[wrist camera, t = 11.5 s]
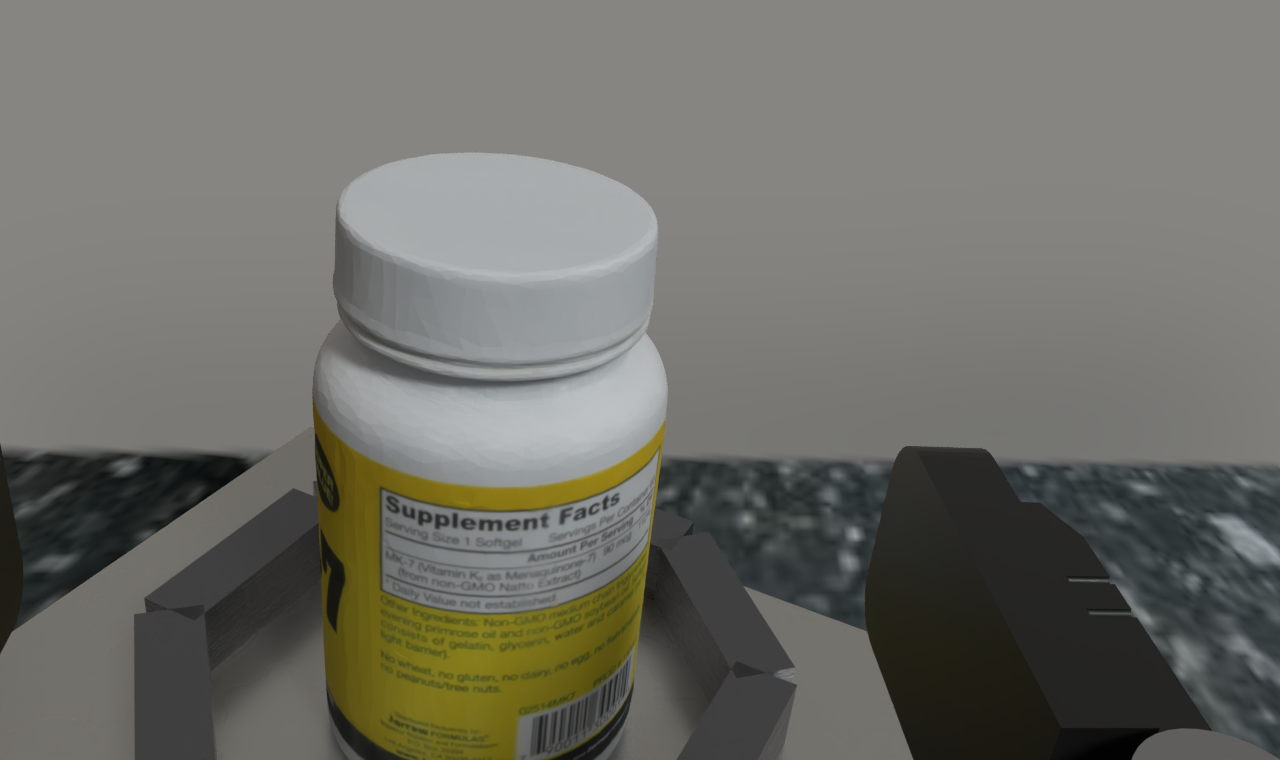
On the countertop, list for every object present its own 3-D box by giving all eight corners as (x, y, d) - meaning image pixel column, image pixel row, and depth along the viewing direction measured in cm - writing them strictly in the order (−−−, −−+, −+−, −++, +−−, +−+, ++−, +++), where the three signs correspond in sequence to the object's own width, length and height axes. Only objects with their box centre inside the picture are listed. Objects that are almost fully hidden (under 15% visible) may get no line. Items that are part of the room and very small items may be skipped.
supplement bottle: (365, 591, 21) (357, 124, 17) (635, 618, 21) (690, 159, 17) (285, 811, 17) (250, 261, 13) (621, 843, 17) (691, 307, 13)
